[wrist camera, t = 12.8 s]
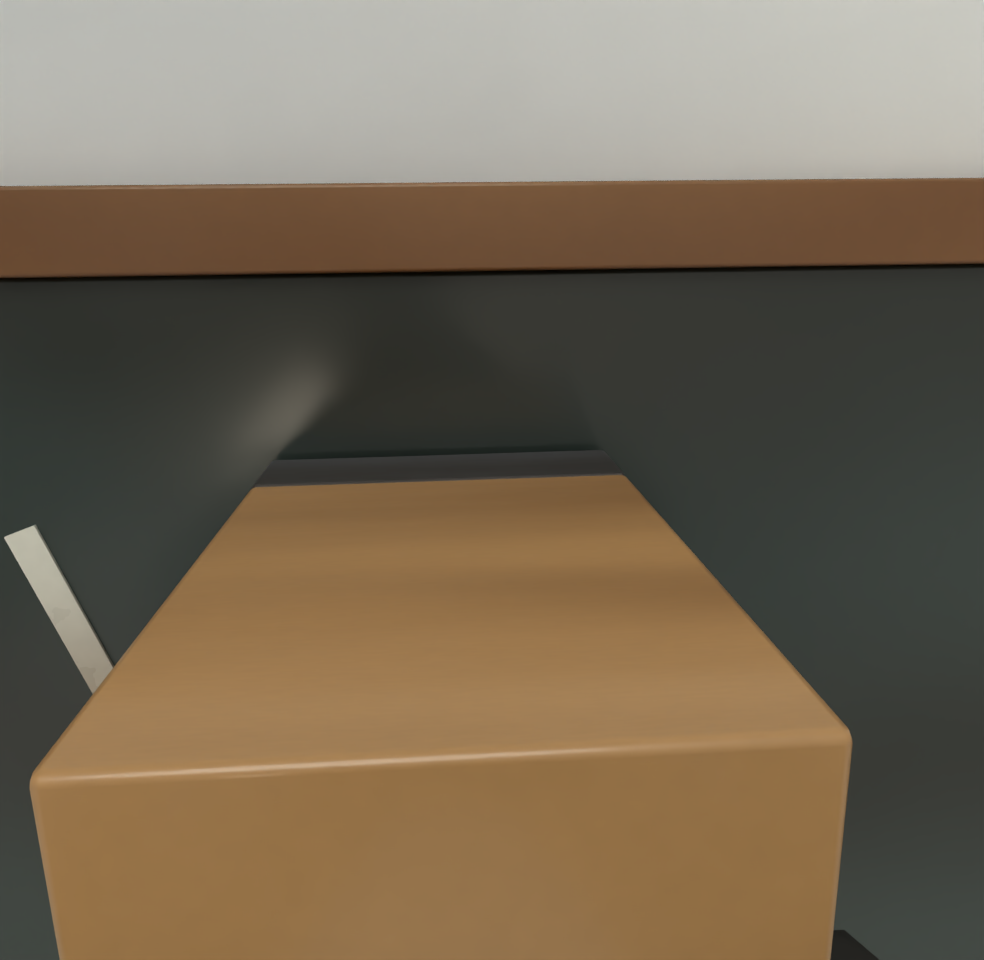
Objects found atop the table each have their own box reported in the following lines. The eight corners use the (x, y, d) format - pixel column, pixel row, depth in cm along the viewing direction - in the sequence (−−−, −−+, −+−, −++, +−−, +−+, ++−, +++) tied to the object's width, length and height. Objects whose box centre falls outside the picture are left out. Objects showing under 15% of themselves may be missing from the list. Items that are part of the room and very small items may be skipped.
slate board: (-714, 201, 12) (-867, 193, 11) (1171, 184, 14) (1256, 175, 12) (-369, 1179, 17) (-445, 1265, 15) (1012, 1076, 19) (1061, 1144, 17)
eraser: (271, 459, 13) (19, 777, 5) (604, 448, 13) (859, 732, 5) (317, 1006, 15) (199, 1779, 7) (595, 986, 16) (757, 1709, 8)
